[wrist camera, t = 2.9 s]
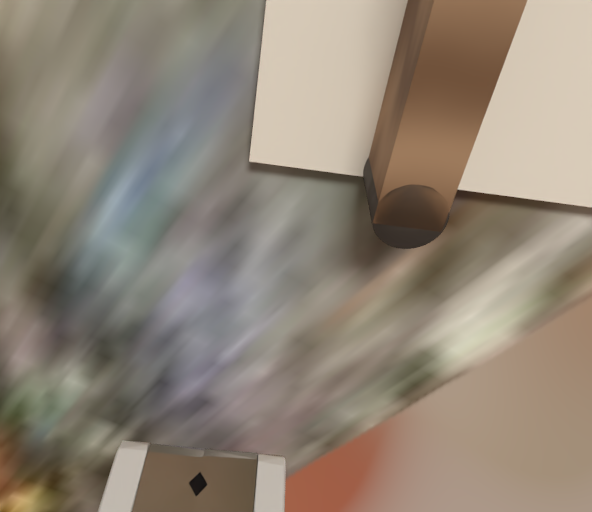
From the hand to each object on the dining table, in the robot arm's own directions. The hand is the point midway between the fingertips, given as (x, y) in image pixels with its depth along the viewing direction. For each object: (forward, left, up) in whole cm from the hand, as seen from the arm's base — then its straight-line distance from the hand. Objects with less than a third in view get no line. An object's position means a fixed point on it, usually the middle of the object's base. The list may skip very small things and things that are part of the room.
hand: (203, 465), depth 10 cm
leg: (+7, +3, -18) cm, 19 cm away
